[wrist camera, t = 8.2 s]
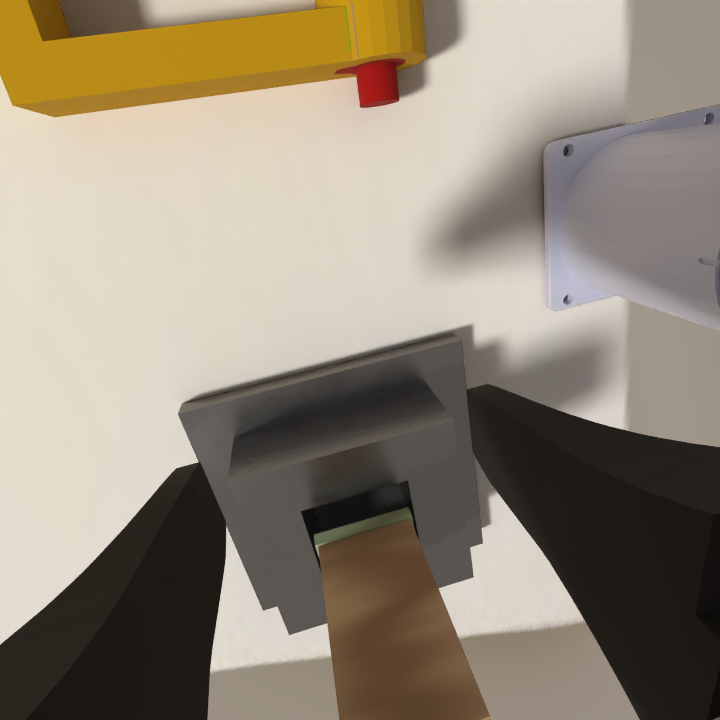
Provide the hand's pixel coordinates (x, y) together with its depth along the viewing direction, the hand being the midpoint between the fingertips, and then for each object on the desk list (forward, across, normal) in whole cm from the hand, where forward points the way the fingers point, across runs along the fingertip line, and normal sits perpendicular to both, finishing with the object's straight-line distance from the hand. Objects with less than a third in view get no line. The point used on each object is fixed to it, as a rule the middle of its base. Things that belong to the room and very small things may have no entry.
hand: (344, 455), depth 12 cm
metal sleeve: (+10, 0, +9) cm, 14 cm away
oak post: (+5, 0, +9) cm, 10 cm away
